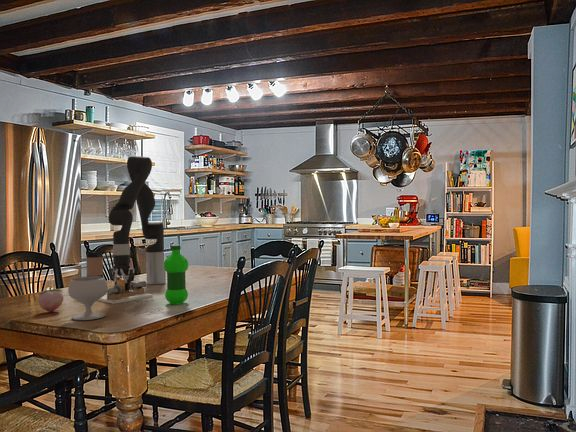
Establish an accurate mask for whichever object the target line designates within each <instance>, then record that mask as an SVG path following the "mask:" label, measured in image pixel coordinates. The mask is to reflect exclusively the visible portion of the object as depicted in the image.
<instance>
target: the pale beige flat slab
mask: <svg viewBox="0 0 576 432" xmlns="http://www.w3.org/2000/svg"><path fill="white" fill-rule="evenodd" d="M153 297H154V295H153V294H151V293H147V292H144V293H142V294H136V293H135V292H133V290H129V291H128V293H122V294H121V299H119V300H107V294H105V295H104V296H103V297H102V298H100V299H98V300H97V302H103V303H108V304H119V303H127V302H131V301H138V299H139V300H143V299H144V300H145V299H150V298H153Z"/></svg>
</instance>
